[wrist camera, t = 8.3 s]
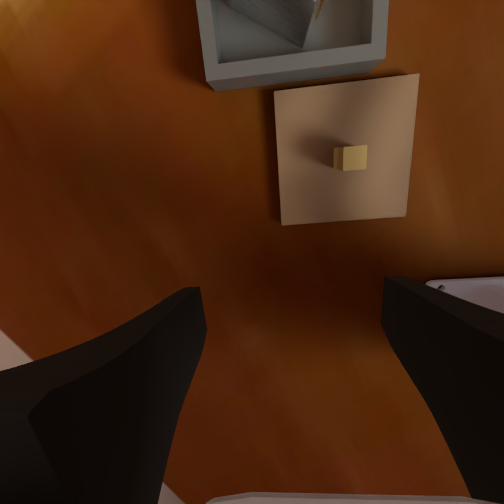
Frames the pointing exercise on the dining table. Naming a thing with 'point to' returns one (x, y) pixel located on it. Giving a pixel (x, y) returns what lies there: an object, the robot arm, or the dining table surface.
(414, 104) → the stud plate
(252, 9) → the grey block
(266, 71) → the bin
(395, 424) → the dining table surface
